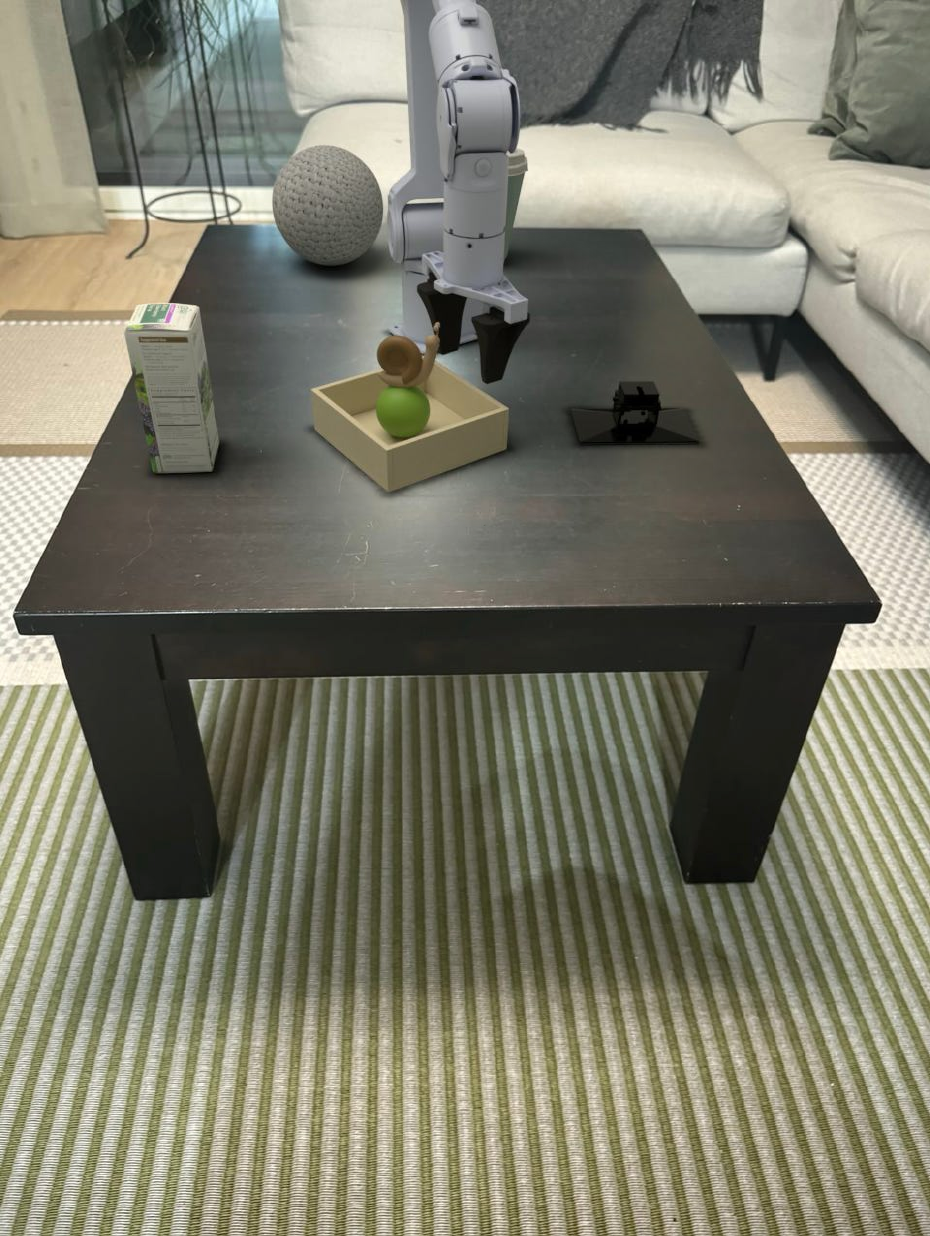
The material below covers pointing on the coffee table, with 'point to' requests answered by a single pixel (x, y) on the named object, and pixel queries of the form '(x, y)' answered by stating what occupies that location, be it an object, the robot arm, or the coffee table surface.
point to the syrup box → (173, 386)
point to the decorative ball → (327, 205)
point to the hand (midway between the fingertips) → (469, 365)
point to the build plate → (634, 419)
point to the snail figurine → (405, 384)
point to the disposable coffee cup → (513, 191)
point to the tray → (449, 439)
